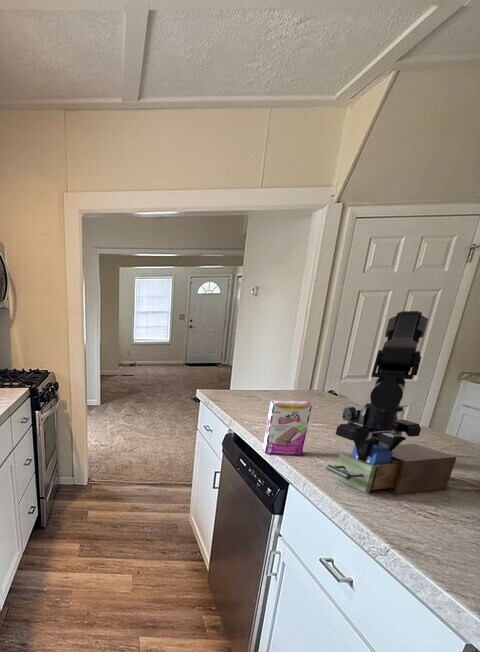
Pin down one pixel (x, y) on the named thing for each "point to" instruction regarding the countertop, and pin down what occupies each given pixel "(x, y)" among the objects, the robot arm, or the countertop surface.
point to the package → (376, 455)
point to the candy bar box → (286, 427)
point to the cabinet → (421, 469)
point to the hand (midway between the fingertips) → (369, 463)
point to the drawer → (365, 473)
